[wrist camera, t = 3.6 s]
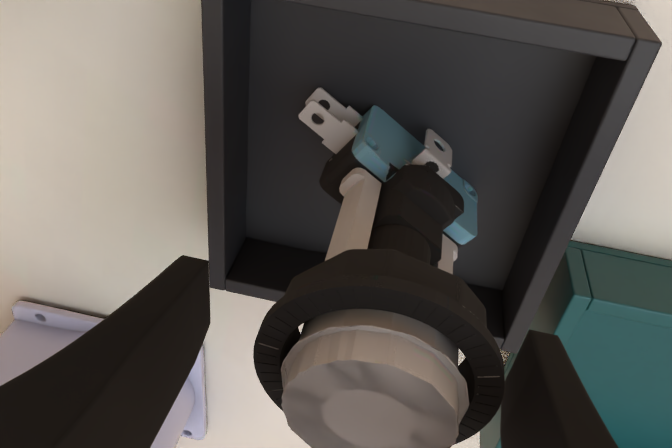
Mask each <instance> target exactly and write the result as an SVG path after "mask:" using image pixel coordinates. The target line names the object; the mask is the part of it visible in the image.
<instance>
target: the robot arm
mask: <svg viewBox="0 0 672 448" xmlns="http://www.w3.org/2000/svg"><path fill="white" fill-rule="evenodd" d="M12 312H13V315H14V318H15V320H14V321H13V322H12V323H11V324H10V325H9V326H8V328H7V329H6V330H5V331H4V332H3V334H2V335H1V336H0V448H175V447H176V445H177V443H178V440H179V438H180V436H183V437H188V438H192V439H196V440H202V439H204V438H205V435H206V433H207V420H206V396H205V372H204V349H203V345H202V344H203V341H204V339H205V336H206V333H207V331H208V328H209V325H210V293H209V261H207V260H202V259H198V258H193V257H188V256H184V255H183V256H181V257H179V258H178V259H177V260H175V261H174V262H173V263H172V264H171V265H170V266H169V267H167V268H166V269H165V270H164V271H163V272H162V273H160V274H159V275H158V276H157V277H156V278H155V279H154V280H152V281H151V282H150V283H149V284H148V285H146V286H145V287H144V288H143V289H142V290H140V291H139V292H138V293H137V294H136V295H134V296H133V297H132V298H131V299H129V300H128V301H127V302H126V303H124V304H123V305H122V306H121V307H119V308H118V309H117V310H116V311H114V312H113V313H112V314H110V315H109V316H108V317H107V318H105V319H103V318H98V317H94V316H89V315H85V314H80V313H76V312H72V311H67V310H63V309H58V308H54V307H49V306H45V305H40V304H36V303H31V302H27V301H17V302H16V303H15V304H14V305H13V307H12ZM500 437H501V448H619V447H618V446H617V444H616V442H615V441H614V439H613V437H612V436H611V434H610V432H609V430H608V429H607V427H606V425H605V423H604V422H603V420H602V418H601V416H600V415H599V413H598V411H597V409H596V408H595V406H594V404H593V402H592V400H591V398H590V397H589V395H588V393H587V391H586V389H585V387H584V385H583V383H582V381H581V379H580V378H579V376H578V374H577V372H576V370H575V368H574V366H573V364H572V362H571V360H570V358H569V356H568V354H567V352H566V350H565V348H564V346H563V344H562V342H561V340H560V338H559V337H558V335H553V334H548V333H544V332H539V331H534V330H530V329H529V331H528V333H527V335H526V337H525V339H524V342H523V344H522V346H521V348H520V350H519V352H518V354H517V356H516V359H515V361H514V363H513V365H512V367H511V369H510V371H509V373H508V376H507V378H506V380H505V390H504V395H503V400H502V402H501V419H500Z"/></svg>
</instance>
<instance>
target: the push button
mask: <svg viewBox="0 0 672 448" xmlns="http://www.w3.org/2000/svg"><path fill="white" fill-rule="evenodd" d="M320 100H326V101H328V102H329V104H330V109H329V110H326V109H325V108H324V107H323V106H322V105H321V104H319V103H318V102H319V101H320ZM305 104H306V107H305V108H304V109H303V110H302V111H301V112H300V114H299V119H300V120H301V121H303V122H304V123H305V124H306V125H307V126H309V127H310V128H311V129H312V130H314V131H315V132H316V133H317V134H318V135H320V136H321V137H322V138H323V139H324V140H323V141H322V143H323V144H324V145H325V146H326V147H328V148H329V149H330V150H331V151H332V152H334V155H333V156H332V157H331V158H330V159H329V160H328V161H327V162H326V164H325V167H324V170H323V172H322V175H321V177H320V180H319V182H320V186H321V188H322V189H323V190H324V191H325V192H326V193H327V194H329V195H330V196H331V197H332V198H334V199H335V200H336V201H337V202H339V203H340V204H341V205H342V206H341V209H340V213H339V216H338V219H337V222H336V226H335V229H334V232H333V235H332V239H331V242H330V245H329V249H328V252H327V255H326V258H325V261H324V262H322V263H320V264H318V265H316V266H314V267H312V268H310V269H308V270H306V271H304V272H302V273H300V274H299V275H297V276H295V277H294V278H293V279H292V280H291V282H290V284H289V286H288V288H287V290H286V292H285V295H284V296H283V297H282V298H281V299H279V300H278V301H277V302H276V303H275V304H274V305H273V306H272V308H271V309H270V310H269V311H268V313H267V314H266V316H265V318H264V320H263V322H262V324H261V327H260V329H259V332H258V335H257V337H256V340H255V345H254V356H253V358H254V365H255V369H256V373H257V376H258V378H259V380H260V383H261V384H262V386H263V388H264V390H265V391H266V393H267V394H268V395H269V397H270V398H271V399H272V400H273V401H274V403H275V404H276V405H277V406H278V407H279V408H280V409H281V410H282V411H284V413H285V416H286V418H287V422H288V426H289V427H290V428H291V430H292V431H294V432H295V433H296V434H297V435H298V436H299V437H300V438H301V439H303V440H304V441H305V442H306V443H307V444H308V445H309V446H310V447H312V448H450V447H451V446H452V445H454V444H456V443H459V442H461V441H463V440H465V439H467V438H469V437H471V436H473V435H474V434H476V433H477V432H479V431H480V430H481V429H483V428H484V427H485V426H486V425H487V424H488V423H489V422H490V421H491V420H492V418H493V417H494V416H495V414H496V413H497V411H498V409H499V407H500V405H501V402H502V400H503V395H504V390H505V378H504V365H503V359H502V355H501V352H500V349H499V347H498V345H497V343H496V341H495V339H494V337H493V336H492V334H491V333H490V331H489V330H488V329H487V322H486V309H485V307H484V305H483V304H482V303H481V301H480V300H479V299H478V298H477V296H476V295H475V294H474V293H473V291H472V290H471V289H470V288H469V287H468V285H467V284H466V283H465V282H464V281H463V280H462V279H461V278H459V277H458V276H455V275H453V262H454V261H455V260H456V259H457V253H458V249H459V248H460V247H461V246H463V245H464V244H466V243H467V242H469V241H470V240H471V239H473V238H474V237H476V236H477V202H478V196H477V193H476V191H475V189H474V188H473V187H472V186H471V185H470V184H469V183H468V182H467V181H465V180H464V179H462V178H461V177H459V176H458V175H457V174H456V173H455V172H454V171H452V170H451V169H450V167H451V166H452V149H451V147H450V146H449V144H448V143H446V142H445V141H444V140H443V139H442V138H441V137H440V136H438V135H437V134H436V133H435V132H434V131H433V130H431V129H427V130H426V135H425V143H424V145H423V144H421V143H420V142H419V141H418V140H417V139H416V138H414V137H413V136H412V135H411V134H410V133H409V132H408V131H406V130H405V129H404V128H403V127H402V126H401V125H399V124H398V123H397V122H396V121H395V120H394V119H393V118H391V117H390V116H389V115H388V114H387V113H386V112H385V111H383V110H382V109H381V108H379V107H378V106H375V105H374V106H372V107H371V108H370V109H369V110H368V111H367V112H366V113H365V114H364V115H363V116H361V115H360V114H359V113H358V112H357V111H355V110H354V109H353V108H352V107H351V106H348V107H347V108H345V107H344V106H343V105H341V104H340V103H339V102H338V101H337V100H336V99H334V98H333V97H332V96H331V95H330V94H329V93H327V92H326V91H325V90H324V89H323V88H317V89H316V90H315V91H314V92H313V94H312V95H311V96H310V97H309V98H308V99H307V100H306V102H305ZM314 113H315V114H317V115H318V116H319V117H320V118H321V119H323V120H324V122H323V123H322V124H316V123H314V122H313V121H312V118H311V117H312V114H314ZM434 141H436V142H438V143H439V144H440V145H441V147H442V148H443V151H444V152H443V151H441V150H440V149H439V148H438V147H437V146H436V145H435V143H434ZM304 322H305V323H304ZM302 323H304V326H303V329H302V332H301V334H300V332H299V329H298V326H300V325H301V324H302ZM458 349H460V350H461V351H462V353H463V354H464V355H465V357H466V358H465V359H464V361H463V362H462V363H461V364H460V365H459V366H458Z"/></svg>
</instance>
